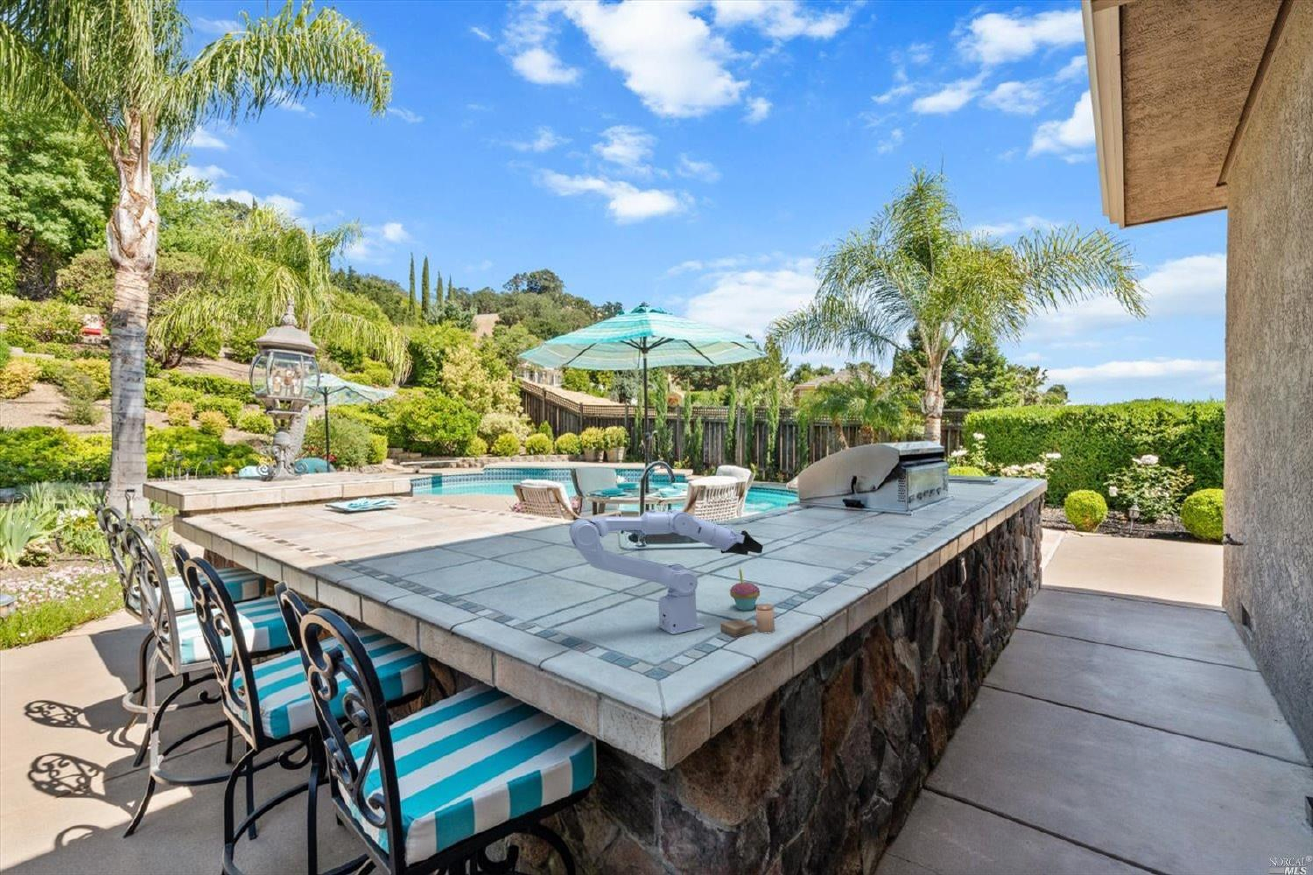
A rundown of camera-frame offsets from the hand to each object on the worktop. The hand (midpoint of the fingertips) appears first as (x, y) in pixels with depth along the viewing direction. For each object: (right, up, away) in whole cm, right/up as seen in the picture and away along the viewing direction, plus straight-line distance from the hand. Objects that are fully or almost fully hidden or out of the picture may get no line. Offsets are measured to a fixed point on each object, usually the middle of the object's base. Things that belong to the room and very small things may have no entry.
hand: (754, 550), depth 155 cm
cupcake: (-1, -18, +9) cm, 20 cm away
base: (-6, -18, -12) cm, 22 cm away
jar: (+1, -18, -11) cm, 21 cm away
